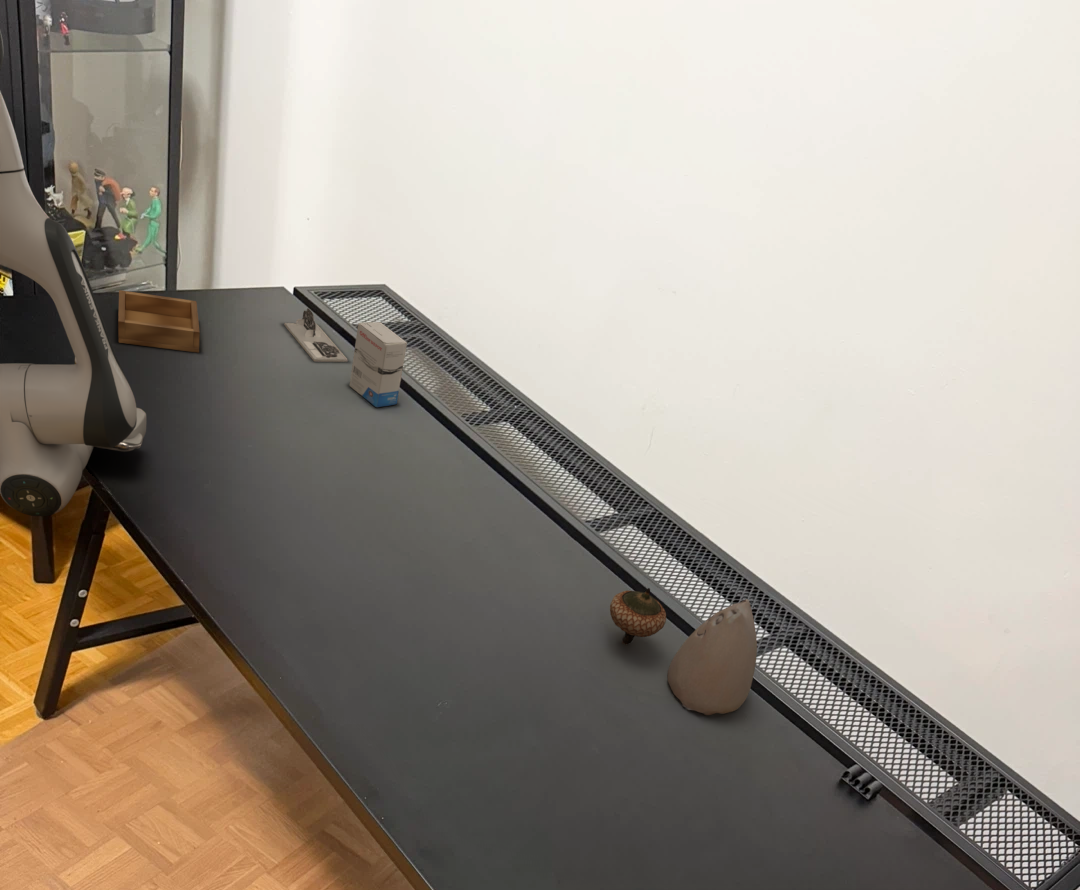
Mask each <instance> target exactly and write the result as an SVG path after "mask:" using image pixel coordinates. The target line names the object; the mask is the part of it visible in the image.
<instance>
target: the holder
mask: <svg viewBox="0 0 1080 890" xmlns="http://www.w3.org/2000/svg"><path fill="white" fill-rule="evenodd" d="M117 318H118V321H117V323H118V325H117V329H118V331H117V332H118V335H117V336H118V343H119V344H127V345H134V346H142V347H151V348H159V349H167V350H175V351H183V352H189V353H197V354H199V353H200V333H201V332H200V331H201V330H200V323H199V321H200V320H199V312H198V303H197V301H196V300H191V299H183V298H176V297H170V296H164V295H155V294H149V293H142V292H134V291H129V290H121V289H119V290H118V315H117Z"/></svg>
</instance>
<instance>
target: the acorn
mask: <svg viewBox="0 0 1080 890" xmlns="http://www.w3.org/2000/svg"><path fill="white" fill-rule="evenodd" d="M650 592H651V588H650V587H648V588H646V590H645V592H643V591H638V590H623V591H621V592H619V593H616V594H614V596H613V597H612V600H611V602H610V605H609V613H610V617H611V620H612V621H613V624H614V625H615V626H616V627H618V628H619V629H620V630H621V631H622V632H624V635H623V638H622V641H621V644H622V645H625V646H626V645H629V644H631V643H632V642H633V641H634V639H635V637H637V638H647V637H651V636H653V635H655V634H656V635H657V633H659V632H660V631H661V630H662V629H664V627H665V624H666V623H667V613H666V610H665V608H664V607H663V605H662V604H661V603H660V602H659V601H658V599H656V598H654V597H653V596H652V595H650Z"/></svg>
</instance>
